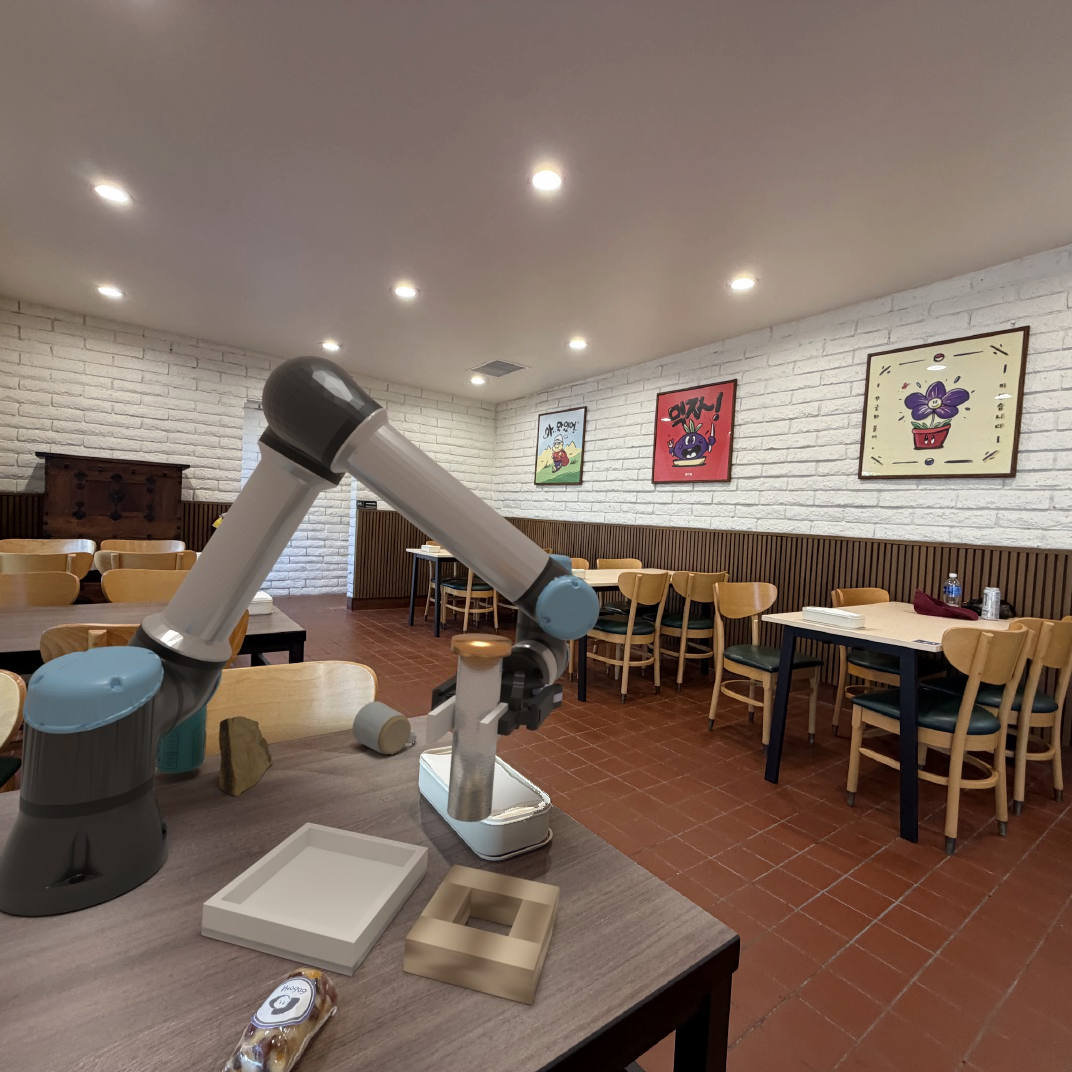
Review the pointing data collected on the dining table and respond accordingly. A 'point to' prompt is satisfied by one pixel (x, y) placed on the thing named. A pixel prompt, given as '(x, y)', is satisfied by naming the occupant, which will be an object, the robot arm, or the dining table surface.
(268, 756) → the rock
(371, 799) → the dining table surface
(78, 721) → the robot arm
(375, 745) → the ceramic mug
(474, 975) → the block
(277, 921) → the tray
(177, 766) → the beverage bottle
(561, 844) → the dining table surface
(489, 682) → the steel pin
